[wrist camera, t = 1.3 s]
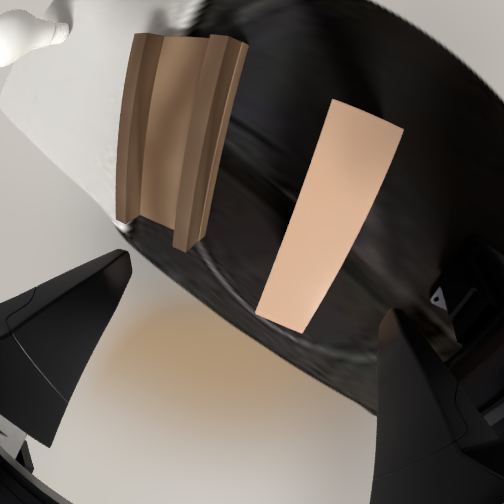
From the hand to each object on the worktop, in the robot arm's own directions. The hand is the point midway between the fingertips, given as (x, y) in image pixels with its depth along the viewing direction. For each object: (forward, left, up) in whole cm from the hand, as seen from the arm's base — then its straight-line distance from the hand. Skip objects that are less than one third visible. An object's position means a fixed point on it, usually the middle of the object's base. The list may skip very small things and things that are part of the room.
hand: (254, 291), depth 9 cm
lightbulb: (+29, -10, -12) cm, 33 cm away
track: (+11, 0, -12) cm, 16 cm away
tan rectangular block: (-1, 0, -12) cm, 12 cm away
